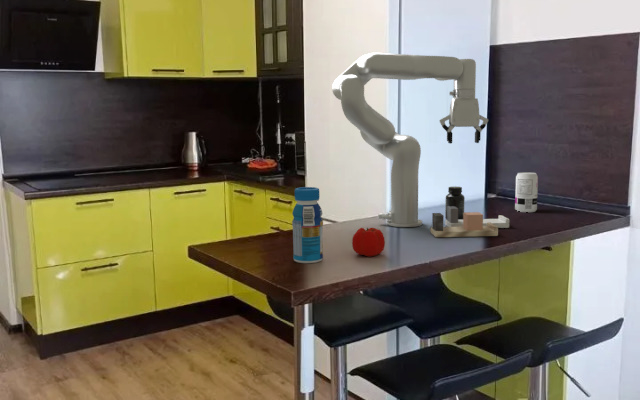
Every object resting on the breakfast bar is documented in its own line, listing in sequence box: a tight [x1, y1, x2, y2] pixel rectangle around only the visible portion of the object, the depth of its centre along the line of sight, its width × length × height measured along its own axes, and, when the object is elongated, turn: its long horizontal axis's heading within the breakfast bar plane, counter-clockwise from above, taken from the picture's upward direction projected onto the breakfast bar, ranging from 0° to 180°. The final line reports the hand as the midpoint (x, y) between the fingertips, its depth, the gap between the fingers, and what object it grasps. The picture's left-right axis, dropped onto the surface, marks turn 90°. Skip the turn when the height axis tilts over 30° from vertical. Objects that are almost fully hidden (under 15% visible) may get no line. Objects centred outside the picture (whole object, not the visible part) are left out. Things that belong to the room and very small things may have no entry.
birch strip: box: [430, 212, 499, 238], centre depth 204 cm, size 20×8×7 cm, turn 92°
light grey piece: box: [445, 206, 510, 229], centre depth 217 cm, size 20×8×7 cm, turn 92°
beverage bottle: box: [291, 186, 324, 264], centre depth 171 cm, size 8×8×20 cm
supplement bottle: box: [444, 186, 466, 221], centre depth 231 cm, size 7×7×12 cm
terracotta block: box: [463, 211, 484, 230], centre depth 204 cm, size 5×5×5 cm
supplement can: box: [514, 172, 539, 213], centre depth 247 cm, size 8×8×15 cm
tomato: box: [351, 227, 386, 258], centre depth 178 cm, size 9×9×8 cm
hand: (463, 143), depth 225 cm, fingers open, 9 cm apart
